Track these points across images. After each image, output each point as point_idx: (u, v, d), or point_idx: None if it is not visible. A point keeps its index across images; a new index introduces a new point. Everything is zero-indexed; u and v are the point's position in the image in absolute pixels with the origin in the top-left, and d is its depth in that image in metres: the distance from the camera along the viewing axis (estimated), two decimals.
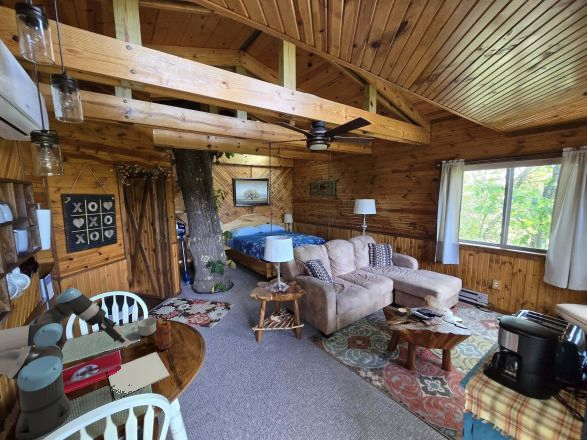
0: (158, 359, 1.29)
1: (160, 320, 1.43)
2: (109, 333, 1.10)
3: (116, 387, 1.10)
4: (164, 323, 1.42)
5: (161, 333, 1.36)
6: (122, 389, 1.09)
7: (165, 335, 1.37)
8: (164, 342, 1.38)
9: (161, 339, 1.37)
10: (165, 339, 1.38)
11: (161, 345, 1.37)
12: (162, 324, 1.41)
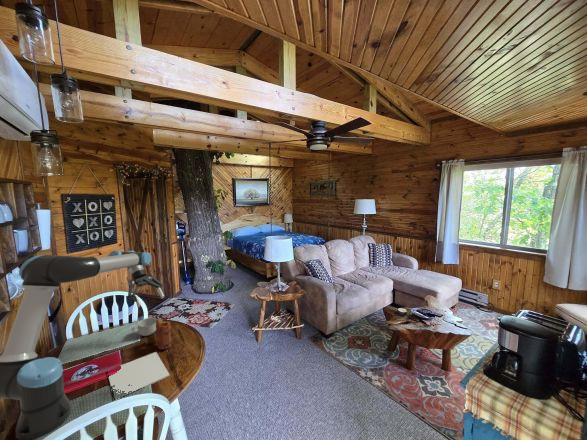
0: (158, 359, 1.29)
1: (160, 320, 1.43)
2: None
3: (116, 387, 1.10)
4: (164, 323, 1.42)
5: (161, 333, 1.36)
6: (122, 389, 1.09)
7: (165, 335, 1.37)
8: (164, 342, 1.38)
9: (161, 339, 1.37)
10: (165, 339, 1.38)
11: (161, 345, 1.37)
12: (162, 324, 1.41)
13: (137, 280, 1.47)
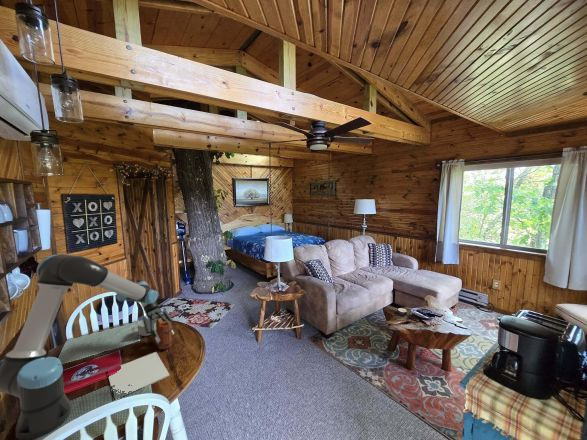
0: (158, 359, 1.29)
1: (160, 320, 1.43)
2: None
3: (116, 387, 1.10)
4: (164, 323, 1.42)
5: (161, 333, 1.37)
6: (122, 389, 1.09)
7: (165, 334, 1.38)
8: (164, 342, 1.38)
9: (161, 339, 1.38)
10: (165, 339, 1.38)
11: (161, 345, 1.37)
12: (162, 324, 1.41)
13: (149, 313, 1.43)
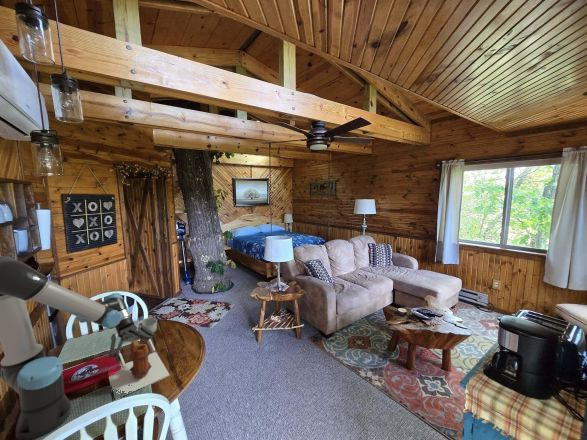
0: (158, 359, 1.29)
1: (136, 342, 1.20)
2: None
3: (116, 387, 1.10)
4: (140, 346, 1.19)
5: (136, 359, 1.14)
6: (122, 389, 1.09)
7: (141, 360, 1.15)
8: (140, 369, 1.15)
9: (136, 366, 1.15)
10: (141, 366, 1.15)
11: (136, 373, 1.14)
12: (138, 347, 1.18)
13: (122, 332, 1.20)
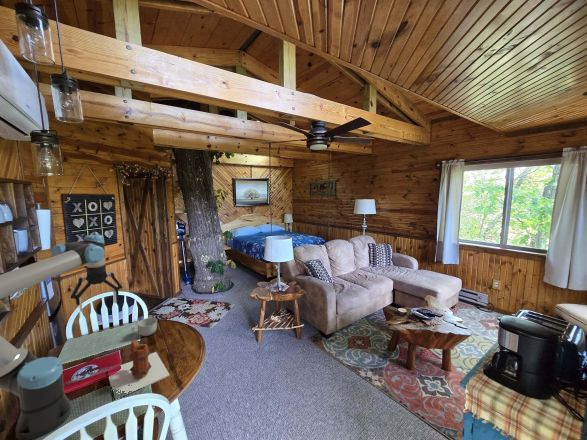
0: (158, 359, 1.29)
1: (136, 342, 1.20)
2: (117, 280, 1.27)
3: (116, 387, 1.10)
4: (140, 346, 1.19)
5: (136, 359, 1.14)
6: (122, 389, 1.09)
7: (141, 361, 1.15)
8: (140, 369, 1.15)
9: (136, 366, 1.15)
10: (141, 366, 1.15)
11: (136, 373, 1.14)
12: (138, 347, 1.18)
13: (90, 278, 1.19)
